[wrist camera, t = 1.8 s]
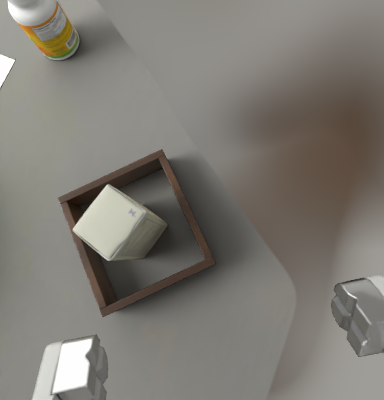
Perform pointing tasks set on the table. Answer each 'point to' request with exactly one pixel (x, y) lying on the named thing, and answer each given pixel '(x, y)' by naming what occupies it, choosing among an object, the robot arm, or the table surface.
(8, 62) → the white card
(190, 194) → the table surface
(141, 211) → the box
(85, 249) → the crate
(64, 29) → the supplement bottle
